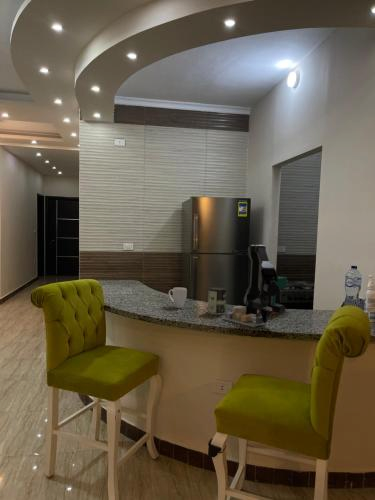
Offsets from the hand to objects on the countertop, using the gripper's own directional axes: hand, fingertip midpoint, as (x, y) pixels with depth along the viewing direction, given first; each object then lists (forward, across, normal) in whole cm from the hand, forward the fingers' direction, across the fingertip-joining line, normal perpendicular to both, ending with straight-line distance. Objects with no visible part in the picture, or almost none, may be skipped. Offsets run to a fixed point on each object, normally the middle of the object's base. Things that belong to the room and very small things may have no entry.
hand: (264, 323), depth 182 cm
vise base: (+2, -13, 0) cm, 13 cm away
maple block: (+1, -16, 0) cm, 16 cm away
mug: (+2, -60, -4) cm, 60 cm away
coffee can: (+2, -35, +4) cm, 35 cm away
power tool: (+2, -18, +39) cm, 43 cm away
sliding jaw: (+1, -7, 0) cm, 7 cm away
